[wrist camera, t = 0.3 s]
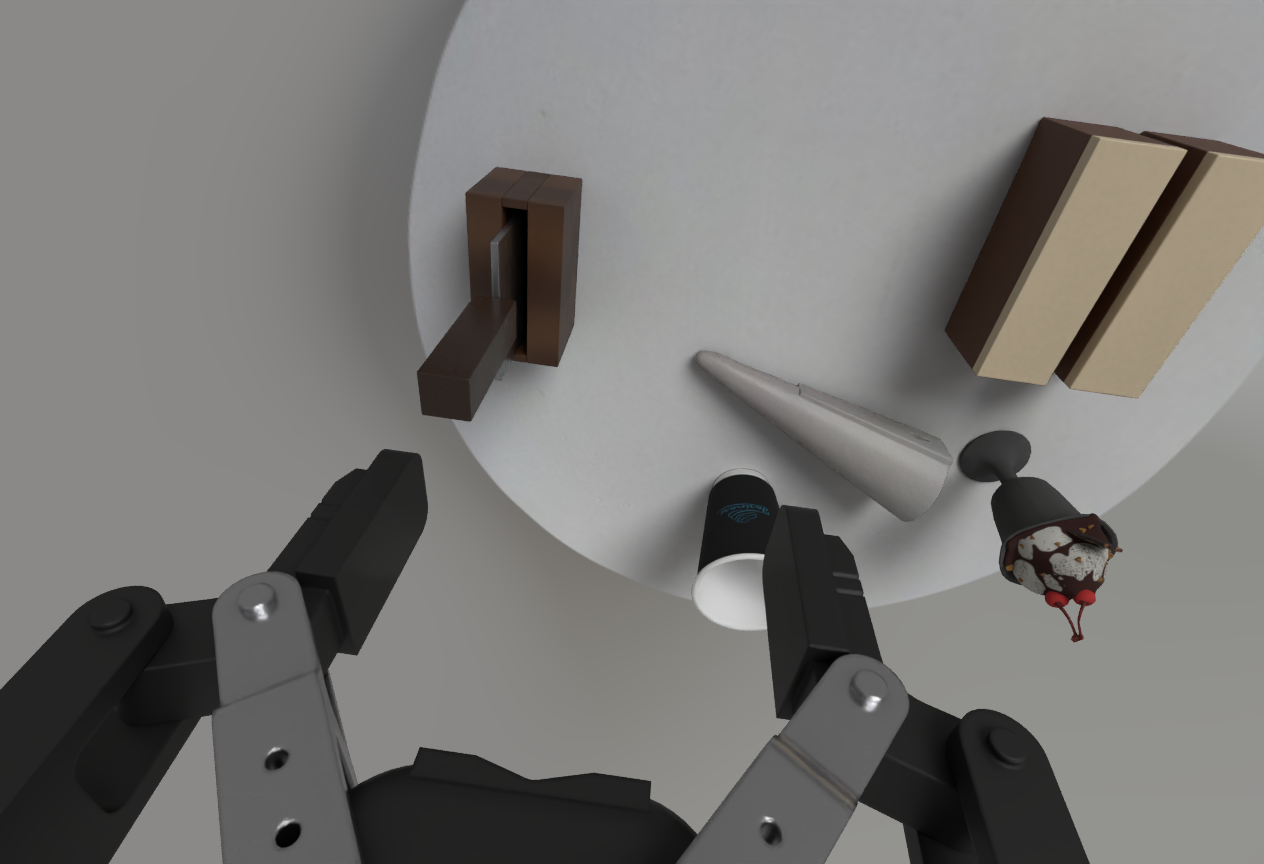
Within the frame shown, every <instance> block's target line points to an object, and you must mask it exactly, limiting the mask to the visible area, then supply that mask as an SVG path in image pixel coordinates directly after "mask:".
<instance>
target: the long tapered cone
mask: <svg viewBox="0 0 1264 864" xmlns="http://www.w3.org/2000/svg"><path fill="white" fill-rule="evenodd" d="M696 362H697V364H698V365H699V366H700V367H701V368H702V369H703V370H704V371H706V372H707V373H708V374H710V375H711V376H712V377H713V378H715V379H716V380H717V381H718V382H720V383H721V384H722V385H723V386H724V387H726V388H727V389H728V390H729V391H731V392H732V393H733V394H735V395H736V396H737V397H739V398H740V399H741V400H743V401H744V402H745V403H747V404H748V405H749V406H751V407H752V408H753V409H755V410H756V411H757V412H758V413H760V414H761V415H762V416H764V417H765V418H766V419H768V420H769V421H770V422H772V423H773V424H774V425H776V426H777V427H778V428H780V429H781V430H782V431H784V432H785V433H786V434H788V435H789V436H790V437H792V438H793V439H794V440H796V441H797V442H798V443H800V444H801V445H802V446H804V447H805V448H806V449H808V450H809V451H810V452H812V453H813V454H814V455H816V456H817V457H818V458H820V459H821V460H822V461H824V462H825V463H826V464H827V465H829V466H830V467H831V468H833V469H834V470H835V471H837V472H838V473H839V474H841V475H842V476H843V477H845V478H846V479H847V480H849V481H850V482H851V483H853V484H854V485H855V486H857V487H858V488H859V489H861V490H862V491H863V492H865V493H866V494H867V495H868V496H870V497H871V498H872V499H873V500H875V501H876V502H877V503H879V504H880V505H881V506H883V507H884V508H885V509H887V510H888V511H889V512H891V513H892V514H893V515H895V516H896V517H897V518H899V519H900V520H902V521H905V522H910V521H913V520H915V519H917V518H919V517H920V516H922V515H923V514H924V513H925V512H926V511H927V510H928V509H929V508H930V507H931V505H932V504H933V503H934V501H935V500H936V498H937V497H938V495H939V493H940V492H941V490H942V488H943V485H944V483H945V480H946V477H947V474H948V470H949V466H950V465H951V464H952V462H953V461H954V460H953V458H952V456H951V455H950V453H949V451H948V450H947V448H946V447H945V445H944V444H943V442H942V441H941V440H940V439H939V438H937V437H934V436H932V435H929V434H927V433H924V432H921V431H919V430H916V429H914V428H911V427H909V426H906V425H904V424H901V423H899V422H896V421H894V420H891V419H889V418H886V417H883V416H881V415H878V414H876V413H873V412H871V411H868V410H866V409H863V408H861V407H858V406H856V405H853V404H850V403H848V402H845V401H843V400H840V399H838V398H835V397H833V396H830V395H828V394H825V393H823V392H820V391H817V390H815V389H812V388H810V387H807V386H805V385H802V384H798V386H795V385H793V384H790V383H788V382H785V381H783V380H781V379H778V378H776V377H774V376H772V375H769V374H766V373H764V372H761V371H758V370H756V369H753V368H751V367H748V366H746V365H743V364H741V363H739V362H737V361H735V360H732V359H730V358H728V357H726V356H723V355H721V354H718V353H714V352H709V351H699V352H698V353H697V356H696Z"/></svg>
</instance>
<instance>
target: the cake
mask: <svg viewBox="0 0 1264 864" xmlns="http://www.w3.org/2000/svg"><path fill="white" fill-rule="evenodd" d="M1263 225H1264V154H1262V153H1258V152H1255V151H1251V150H1248V149H1244V148H1241V147H1237V146H1234V145H1230V144H1227V143H1223V142H1220V141H1215V140H1207V139H1200V138H1193V137H1185V136H1178V135H1171V134H1163V133H1156V132H1149V131H1144V132H1143V133H1142V135H1140V134H1136V133H1133V132H1130V131H1127V130H1124V129H1121V128H1118V127H1112V126H1105V125H1097V124H1090V123H1083V122H1076V121H1068V120H1061V119H1054V118H1046V117H1043V118H1042V120H1041V122H1040V124H1039V126H1038V129H1037V131H1036V133H1035V135H1034V137H1033V139H1032V142H1031V144H1030V146H1029V148H1028V150H1027V152H1026V155H1025V157H1024V159H1023V161H1022V163H1021V165H1020V168H1019V170H1018V172H1017V174H1016V176H1015V179H1014V181H1013V183H1012V185H1011V187H1010V189H1009V192H1008V194H1007V196H1006V198H1005V200H1004V202H1003V205H1002V207H1001V209H1000V211H999V213H998V215H997V218H996V220H995V222H994V224H993V226H992V229H991V231H990V233H989V235H988V237H987V239H986V242H985V244H984V246H983V248H982V250H981V252H980V255H979V257H978V259H977V261H976V263H975V265H974V268H973V270H972V272H971V274H970V276H969V279H968V281H967V283H966V285H965V287H964V289H963V292H962V294H961V296H960V298H959V300H958V302H957V305H956V307H955V309H954V311H953V313H952V315H951V318H950V320H949V322H948V324H947V326H946V329H945V332H946V333H947V335H948V336H949V338H950V339H951V340H952V342H953V343H954V345H955V346H956V347H957V349H958V350H959V352H960V353H961V354H962V356H963V357H964V359H965V360H966V361H967V363H968V364H969V366H970V367H971V368H972V370H973V371H974V373H975V374H976V376H981V377H988V378H995V379H1002V380H1009V381H1016V382H1023V383H1030V384H1037V385H1044V386H1045V385H1046V384H1047V382H1048V380H1049V379H1050V377H1051V375H1052V374H1053V372H1054V373H1055V374H1056V375H1057V376H1058V377H1059V378H1060V379H1061V380H1062V381H1063V382H1064V383H1065V384H1066V385H1067V387H1068V388H1070V389H1074V390H1081V391H1088V392H1095V393H1102V394H1110V395H1117V396H1124V397H1131V398H1139V396H1140V395H1141V394H1142V392H1143V391H1144V390H1145V388H1146V387H1147V385H1148V384H1149V383H1150V381H1151V380H1152V379H1153V377H1154V376H1155V374H1156V373H1157V372H1158V370H1159V369H1160V367H1161V366H1162V365H1163V363H1164V362H1165V361H1166V359H1167V358H1168V356H1169V355H1170V354H1171V352H1172V351H1173V349H1174V348H1175V347H1176V345H1177V344H1178V343H1179V341H1180V340H1181V338H1182V337H1183V336H1184V334H1185V333H1186V332H1187V330H1188V329H1189V327H1190V326H1191V325H1192V323H1193V322H1194V320H1195V319H1196V318H1197V316H1198V315H1199V314H1200V312H1201V311H1202V309H1203V308H1204V307H1205V305H1206V304H1207V303H1208V301H1209V300H1210V298H1211V297H1212V296H1213V294H1214V293H1215V291H1216V290H1217V289H1218V287H1219V286H1220V285H1221V283H1222V282H1223V280H1224V279H1225V278H1226V276H1227V275H1228V274H1229V272H1230V271H1231V269H1232V268H1233V267H1234V265H1235V264H1236V262H1237V261H1238V260H1239V258H1240V257H1241V256H1242V254H1243V253H1244V251H1245V250H1246V249H1247V247H1248V246H1249V245H1250V243H1251V242H1252V240H1253V239H1254V238H1255V236H1256V235H1257V233H1258V232H1259V231H1260V229H1261V228H1262V227H1263Z"/></svg>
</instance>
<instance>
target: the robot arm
mask: <svg viewBox="0 0 1264 864" xmlns="http://www.w3.org/2000/svg"><path fill="white" fill-rule="evenodd" d="M427 513H428V501H427V495H426V487H425V479H424V472H423V464H422V459H421V456H420V455H419V454H418V453H411V452H403V451H396V450H389V449H384V450H382V451H381V452H380V453H379V454H378V455H377V457H376V458H375V460H374V461H373V462H372V464H371V465H370V467H369V468H368V469H367V470H364V469H354V470H353V471H351V472H350V473H348V474H347V475H345V476H344V477H343V478H341V479H339V480H338V481H336V482H335V483H334V484H333V486H332V487H331V489H330V490H329V491H328V492H327V494H326V495H325V496H324V498H323V499H322V502H321V503H319V504H318V505H317V507H316V508H315V509H314V511H313V512H312V513H311V517H310V518H307V520H306V521H305V522H304V524H303V525H302V526H301V528H300V529H299V530H298V532H297V533H296V534H295V535H294V537H293V538H292V539H291V541H290V542H289V543H288V545H287V546H286V547H285V549H284V550H283V551H282V552H281V554H280V555H279V556H278V558H277V559H276V560H275V562H274V563H273V564H272V565H271V567H270V568H269V569H268V570H267V572H263V573H258V574H254V575H251V576H249V577H246V578H244V579H241V580H239V581H238V582H236V583H234V584H233V585H231V586H230V587H229V588H228V589H226V590H225V591H224V592H223V593H222V594H221V595H220V597H219V598H214V599H207V600H199V601H191V602H183V603H175V604H167V605H166V604H165V602H164V600H163V599H162V597H161V595H160V594H159V593H158V592H157V591H156V590H154V589H152V588H149V587H144V586H129V587H123V588H118V589H114V590H111V591H108V592H106V593H103V594H101V595H99V596H97V597H95V598H93V599H92V600H90V601H88V602H86V603H85V604H84V605H82V606H81V607H80V608H78V609H77V610H76V611H75V612H74V613H73V614H72V615H71V616H70V617H69V618H68V619H67V620H66V621H65V622H64V623H63V624H62V626H60V627H59V629H58V630H57V631H56V632H55V633H54V634H53V635H52V636H51V637H50V638H49V639H48V640H47V641H46V642H45V643H44V644H43V645H42V646H41V648H40V649H39V650H38V651H37V652H36V653H35V654H34V655H33V656H32V657H31V658H30V659H29V660H28V661H27V662H26V663H25V664H24V665H23V667H22V668H21V669H20V670H19V671H18V672H17V673H16V674H15V675H14V676H13V677H12V678H11V679H10V680H9V681H8V682H7V683H6V684H5V685H4V687H3V688H2V689H1V690H0V864H109V862H110V860H111V859H112V857H113V856H114V854H115V852H116V851H117V849H118V848H119V846H120V845H121V843H122V841H123V840H124V838H125V837H126V835H127V833H128V832H129V830H130V829H131V827H132V826H133V824H134V822H135V821H136V819H137V818H138V816H139V815H140V813H141V811H142V810H143V808H144V807H145V805H146V804H147V802H148V800H149V799H150V797H151V795H152V794H153V792H154V791H155V789H156V788H157V786H158V785H159V783H160V781H161V780H162V778H163V777H164V775H165V774H166V772H167V770H168V769H169V767H170V766H171V764H172V762H173V761H174V759H175V758H176V756H177V755H178V753H179V751H180V750H181V748H182V747H183V745H184V743H185V742H186V740H187V739H188V737H189V736H190V734H191V732H192V731H193V729H194V728H195V726H196V725H197V723H198V721H199V720H200V718H201V717H203V716H209V715H212V733H213V746H214V758H215V771H216V783H217V795H218V808H219V821H220V834H221V847H222V860H223V864H824V863H825V862H826V860H827V858H828V856H829V854H830V853H831V851H832V849H833V847H834V846H835V844H836V842H837V841H838V839H839V837H840V835H841V833H842V832H843V830H844V828H845V827H846V825H847V823H848V821H849V819H850V818H851V816H852V814H853V812H854V810H855V808H856V806H857V804H858V803H857V802H858V801H859V802H861V803H863V804H865V805H867V806H869V807H871V808H873V809H875V810H877V811H879V812H881V813H883V814H885V815H887V816H889V817H891V818H893V819H895V820H897V821H899V822H901V823H903V826H904V832H905V838H906V842H907V848H908V853H909V858H910V864H1090V863H1089V861H1088V858H1087V856H1086V853H1085V851H1084V849H1083V846H1082V843H1081V841H1080V838H1079V836H1078V833H1077V831H1076V828H1075V826H1074V823H1073V821H1072V818H1071V816H1070V813H1069V811H1068V808H1067V806H1066V803H1065V801H1064V798H1063V796H1062V793H1061V791H1060V788H1059V786H1058V783H1057V781H1056V778H1055V776H1054V773H1053V770H1052V768H1051V766H1050V763H1049V761H1048V758H1047V756H1046V754H1045V752H1044V750H1043V748H1042V747H1041V745H1040V744H1039V742H1038V741H1037V740H1036V739H1035V737H1034V736H1033V735H1032V734H1031V733H1030V732H1029V731H1028V730H1027V729H1026V728H1024V727H1023V726H1022V725H1021V724H1020V723H1018V722H1017V721H1015V720H1014V719H1012V718H1010V717H1008V716H1007V715H1005V714H1002V713H1000V712H997V711H993V710H988V709H976V710H972V711H970V712H968V713H967V714H966V715H965V716H964V717H963V718H962V719H959V718H957V717H955V716H953V715H950V714H948V713H946V712H944V711H941V710H939V709H937V708H934V707H932V706H930V705H927V704H925V703H923V702H921V701H919V700H917V699H916V698H914V697H913V696H911V695H910V694H908V693H907V691H906V689H905V687H904V685H903V683H902V682H901V680H900V679H899V678H898V676H897V675H896V674H895V673H894V672H893V671H892V670H891V669H890V668H888V667H887V666H886V665H884V664H883V661H882V658H881V655H880V651H879V648H878V644H877V640H876V637H875V633H874V629H873V626H872V622H871V618H870V615H869V611H868V607H867V604H866V600H865V597H863V589H862V585H861V582H860V580H859V574H858V571H857V567H856V563H855V560H854V556H853V554H852V553H851V552H850V550H849V549H848V548H847V546H846V545H845V544H844V543H843V541H842V540H841V539H840V537H839V536H832V535H825V534H824V533H823V529H822V525H821V520H820V516H819V513H818V511H817V510H816V509H809V508H802V507H795V506H788V505H782V506H781V507H780V509H779V511H778V514H777V517H776V521H775V524H774V527H773V530H772V533H771V536H770V539H769V542H768V545H767V548H766V551H765V555H764V560H763V568H762V582H763V592H764V602H765V612H766V621H767V630H768V641H769V650H770V660H771V670H772V679H773V689H774V699H775V708H776V717H777V718H780V719H788V720H790V721H789V722H788V724H787V725H786V726H785V728H784V729H783V730H782V731H781V733H780V734H779V735H778V736H777V735H775V736H773V737H772V738H771V739H770V740H769V742H768V743H767V744H766V746H765V747H764V748H763V749H762V751H761V752H760V753H759V755H758V756H757V757H756V759H755V760H754V761H753V762H752V764H751V765H750V766H749V768H748V769H747V770H746V772H745V773H744V774H743V776H742V777H741V778H740V780H739V781H738V782H737V783H736V785H735V786H734V787H733V789H732V790H731V791H730V793H729V794H728V795H727V797H726V798H725V799H724V801H723V802H722V803H721V805H720V806H719V807H718V809H717V810H716V811H715V813H714V814H713V815H712V816H711V818H710V819H709V820H708V822H707V823H706V824H705V826H704V827H703V828H702V830H701V831H700V832H699V834H698V835H697V833H696V832H695V831H694V830H693V829H692V828H691V827H690V826H689V825H688V824H687V823H686V822H685V821H684V820H683V819H681V818H680V817H679V816H678V815H676V814H675V813H674V812H673V811H671V810H670V809H668V808H666V807H665V806H663V805H662V804H660V803H658V802H656V801H654V800H651V799H650V790H651V781H646V780H640V779H633V778H626V777H619V776H612V775H606V774H599V773H589V774H581V775H572V776H564V777H557V778H549V779H541V780H529V779H527V778H524V777H522V776H520V775H518V774H516V773H514V772H511V771H509V770H507V769H505V768H503V767H500V766H498V765H496V764H494V763H492V762H490V761H487V760H485V759H483V758H481V757H479V756H476V755H470V754H463V753H457V752H449V751H443V750H436V749H429V748H423V747H420V748H419V751H418V753H417V756H416V759H415V761H414V764H413V765H409V766H404V767H400V768H396V769H392V770H389V771H386V772H384V773H381V774H378V775H376V776H374V777H372V778H370V779H368V780H366V781H364V782H362V783H360V784H358V782H357V779H356V775H355V772H354V768H353V765H352V762H351V758H350V754H349V751H348V747H347V742H346V739H345V735H344V730H343V726H342V722H341V718H340V714H339V710H338V706H337V701H336V697H335V693H334V690H333V685H332V681H331V677H330V673H329V670H328V668H329V667H330V665H331V663H332V661H333V659H334V658H335V656H336V654H337V653H344V654H351V655H358V653H359V651H360V649H361V647H362V645H363V643H364V641H365V640H366V638H367V636H368V634H369V632H370V630H371V628H372V626H373V624H374V622H375V621H376V619H377V617H378V615H379V613H380V611H381V609H382V607H383V605H384V604H385V602H386V600H387V598H388V596H389V594H390V592H391V590H392V589H393V587H394V584H395V583H396V581H397V579H398V577H399V575H400V573H401V572H402V570H403V568H404V566H405V564H406V562H407V560H408V558H409V556H410V555H411V553H412V551H413V549H414V547H415V545H416V543H417V541H418V539H419V537H420V536H421V534H422V532H423V529H424V526H425V524H426V520H427Z"/></svg>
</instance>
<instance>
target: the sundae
mask: <svg viewBox="0 0 1264 864" xmlns="http://www.w3.org/2000/svg"><path fill="white" fill-rule="evenodd" d="M1030 454H1031V446H1030V443H1029V441H1028V440H1027V439H1026V438H1025V437H1024V436H1023V435H1021V434H1019V433H1016V432H1012V431H995V432H991V433H988V434H985V435H982V436H980V437H979V438H977V439H975V440H974V441H972V442H971V443H970V444H969V445H968V446H967V447H966V448H965V450H964V451H963V452H962V455H961V458H960V467H961V470H962V472H963V473H964V474H965V475H966V476H967V477H969V478H970V479H973V480H975V481H979V482H994V481H998V480H1000V482H1001V483H1002V484H1001V486H1000V487H999V488H998V489H997V490H996V491H995V493H994V494H993V496H992V499H991V507H992V512H993V517H994V521H995V524H996V527H997V530H998V532H999V535H1000V538H1001V541H1002V546H1001V550H1000V557H999V566H1000V570H1001V573H1002V575H1003V576H1004V577H1005V578H1006V579H1007V580H1009V581H1010V582H1013V583H1016V584H1019V585H1023V586H1024V587H1025V588H1027V589H1029V590H1030V591H1033V592H1035V593H1037V594H1040V595H1045V601H1046V602H1047V604H1049V605H1050V606H1052V607H1057V608H1059V609H1060V610H1062V612H1063V613H1064V615H1065V616H1066V617H1067V619H1068V621H1069V623H1070V625H1071V627H1072V629H1073V632H1074V635H1073V636H1072V639H1071V640H1072V641H1073V642H1077V641H1079V640H1083V639H1084V637H1083V635H1082V633H1081V628H1080V623H1079V622H1080V618H1081V614H1082V611H1083V609H1084V607H1085V606H1089V605H1092V604H1093V603H1094V602H1095V592H1096V590H1097V589H1098V588H1099V587H1100V586H1101V585H1102V584H1103V582H1104V579H1105V575H1106V569H1107V567H1106V565H1107V564H1108V563H1107V561H1109V560H1110V559H1111V558H1112V557H1113V555H1114V554H1115V552H1122V549H1121V548H1118V541H1117V537H1116V534H1115V533H1114V531H1113V530H1112V529H1111V527H1110V526H1109V525H1108V524H1107V523H1106V522H1104V521H1103V520H1101V519H1100V518H1099V517H1098V516H1097V515H1096V514H1094V513H1092V514H1081V513H1080V512H1078V511H1077V510H1076V509H1075V508H1074V507H1073V506H1072V505H1071V504H1070V503H1069V502H1068V501H1067V500H1066V499H1065V498H1064V497H1063V496H1062V495H1061V494H1060V493H1059V492H1058V491H1057V490H1056V489H1055V488H1053V487H1052V486H1051V485H1050V484H1049V483H1047V482H1046V481H1044V480H1042V479H1039V478H1035V477H1017V475H1016V473H1017V472H1019V471H1020V470H1021V469H1022V468H1023V467H1024V466H1025V465H1026V464H1027V462H1028V460H1029V458H1030ZM1071 599H1073V600H1074V601H1075V602H1076V603H1077V604H1079V605H1081V608H1080V611H1079V615H1078V629H1079V635H1077V633H1076V631H1075V629H1074V626H1073V623H1072V621H1071V620H1070V617H1069V616H1068V614H1067V613H1066V611H1065V610H1064V608H1063V607H1064V606H1066V605H1067V604H1068V602H1069V600H1071Z"/></svg>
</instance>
